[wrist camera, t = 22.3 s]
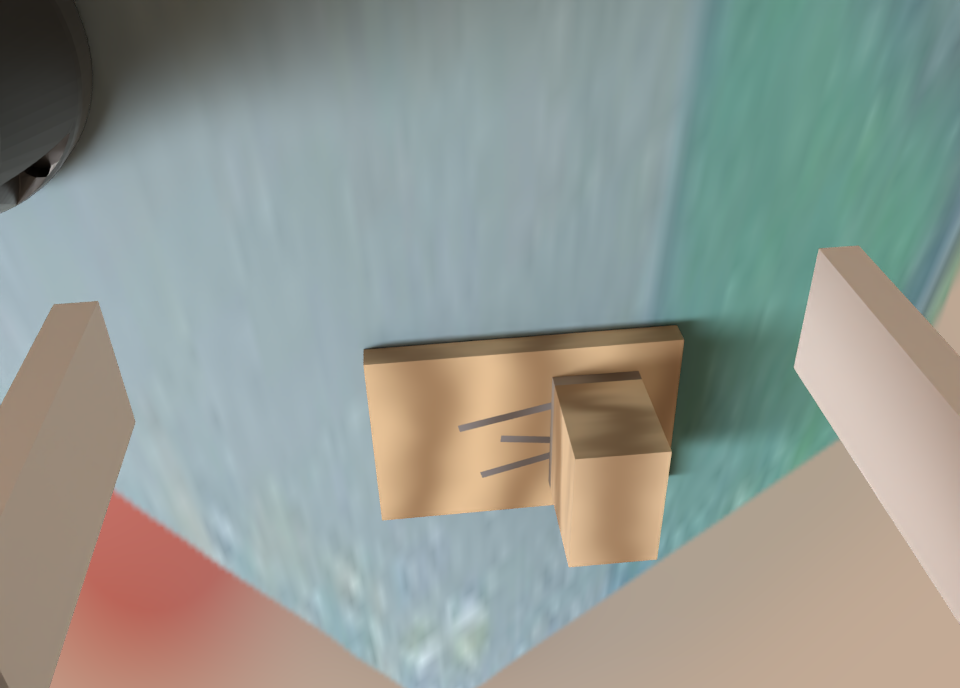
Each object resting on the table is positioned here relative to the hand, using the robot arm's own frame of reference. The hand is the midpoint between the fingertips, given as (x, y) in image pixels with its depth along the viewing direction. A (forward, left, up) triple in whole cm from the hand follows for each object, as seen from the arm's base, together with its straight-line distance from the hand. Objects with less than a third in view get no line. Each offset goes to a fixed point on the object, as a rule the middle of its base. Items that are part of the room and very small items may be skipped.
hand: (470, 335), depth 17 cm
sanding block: (+9, -26, -27) cm, 39 cm away
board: (+5, -26, -29) cm, 39 cm away
